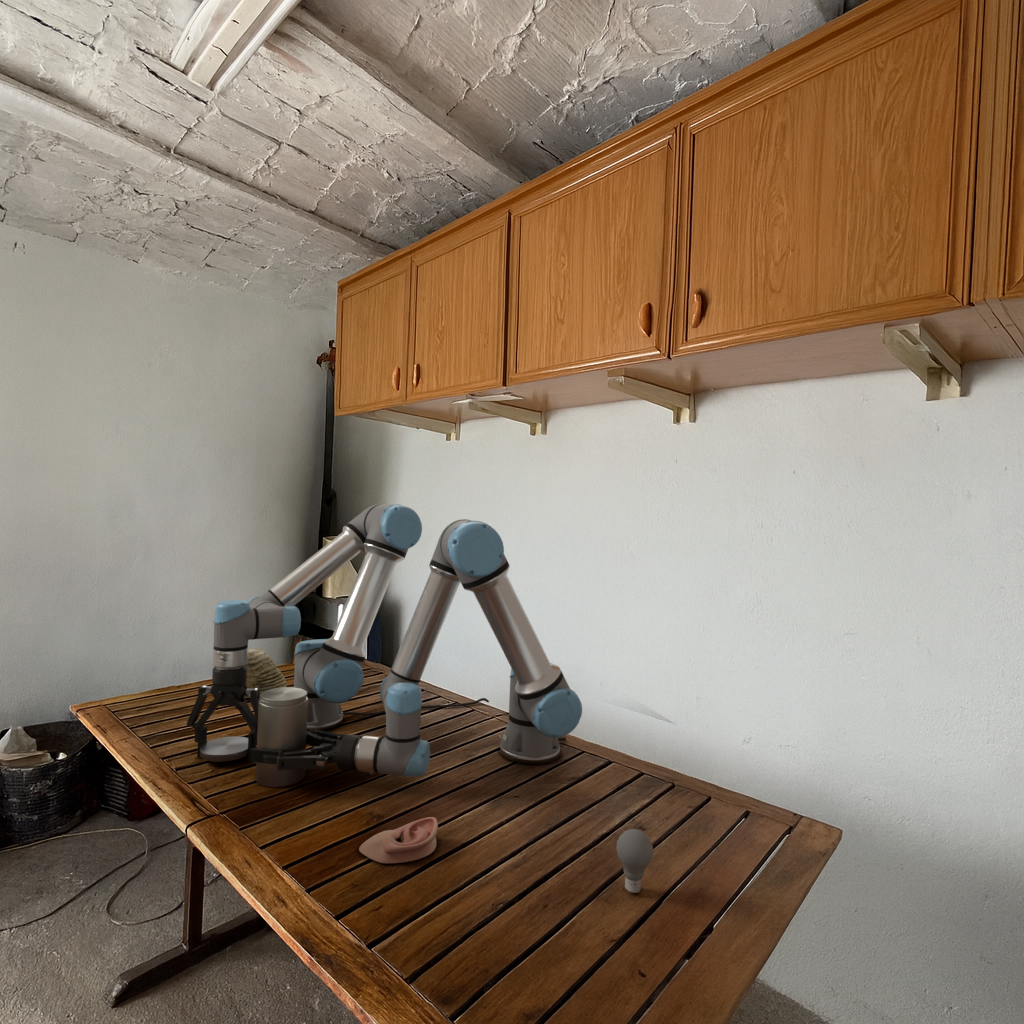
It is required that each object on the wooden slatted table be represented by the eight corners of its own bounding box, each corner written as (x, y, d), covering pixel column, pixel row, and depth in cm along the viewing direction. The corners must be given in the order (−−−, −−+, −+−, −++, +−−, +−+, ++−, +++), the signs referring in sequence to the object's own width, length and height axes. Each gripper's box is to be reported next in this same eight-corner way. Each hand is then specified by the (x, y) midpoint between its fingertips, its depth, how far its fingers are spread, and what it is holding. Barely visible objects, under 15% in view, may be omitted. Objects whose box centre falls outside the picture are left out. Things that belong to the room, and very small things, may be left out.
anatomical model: (352, 836, 111) (378, 805, 123) (351, 858, 111) (377, 826, 123) (423, 847, 109) (444, 815, 120) (422, 870, 109) (443, 836, 120)
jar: (263, 791, 135) (266, 703, 135) (250, 773, 143) (253, 690, 143) (311, 780, 141) (314, 696, 141) (296, 763, 150) (299, 684, 149)
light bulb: (610, 879, 108) (613, 822, 108) (644, 879, 109) (647, 822, 109) (619, 902, 102) (622, 840, 102) (655, 901, 103) (658, 840, 103)
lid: (249, 739, 159) (249, 733, 159) (255, 757, 149) (255, 750, 149) (198, 746, 153) (198, 740, 153) (201, 765, 143) (201, 758, 143)
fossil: (218, 695, 195) (220, 647, 195) (278, 685, 208) (279, 640, 207) (228, 703, 189) (230, 653, 188) (289, 692, 201) (290, 645, 201)
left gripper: (172, 667, 147) (168, 760, 148) (272, 672, 147) (269, 766, 147) (189, 659, 155) (186, 748, 155) (285, 664, 154) (281, 753, 154)
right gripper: (339, 793, 129) (236, 784, 131) (374, 750, 152) (286, 742, 154) (340, 757, 129) (237, 748, 131) (376, 719, 152) (287, 712, 154)
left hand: (226, 757), depth 151 cm, fingers closed on lid, 11 cm apart
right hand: (264, 745), depth 143 cm, fingers closed on jar, 10 cm apart
